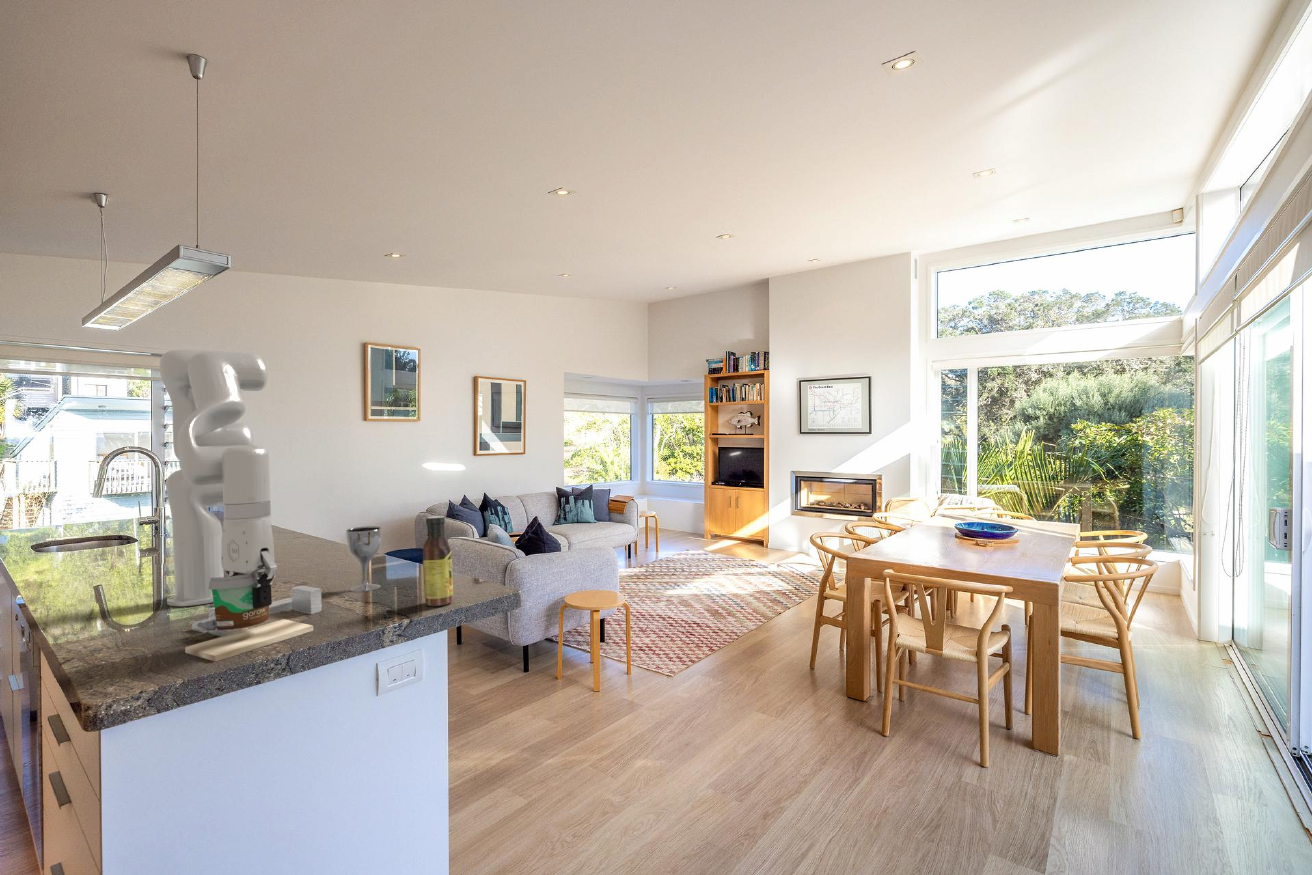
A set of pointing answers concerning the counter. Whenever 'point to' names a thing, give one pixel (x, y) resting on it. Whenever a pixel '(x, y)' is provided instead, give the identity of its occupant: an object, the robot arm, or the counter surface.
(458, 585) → the counter surface
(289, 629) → the light wood flat board
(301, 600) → the vise
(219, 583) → the food container
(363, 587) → the wine glass
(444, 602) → the sauce bottle
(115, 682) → the counter surface
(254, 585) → the robot arm
